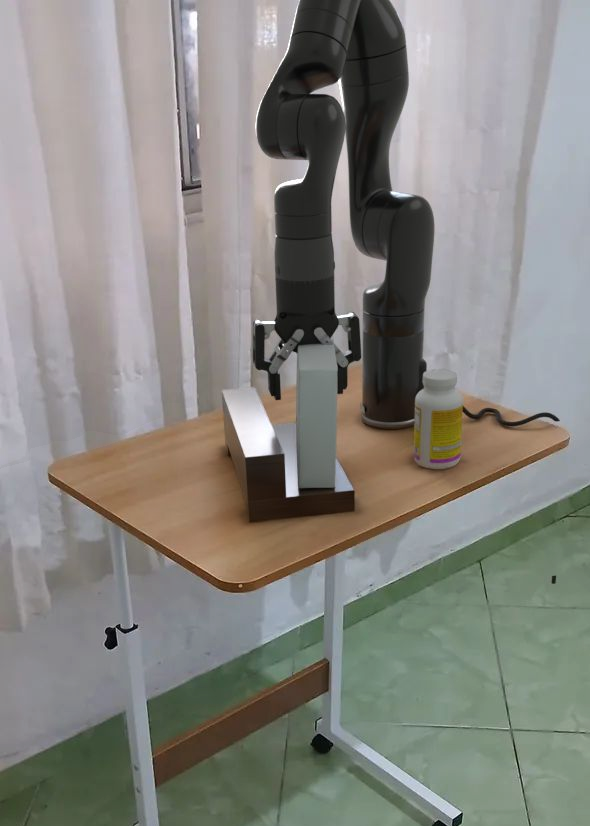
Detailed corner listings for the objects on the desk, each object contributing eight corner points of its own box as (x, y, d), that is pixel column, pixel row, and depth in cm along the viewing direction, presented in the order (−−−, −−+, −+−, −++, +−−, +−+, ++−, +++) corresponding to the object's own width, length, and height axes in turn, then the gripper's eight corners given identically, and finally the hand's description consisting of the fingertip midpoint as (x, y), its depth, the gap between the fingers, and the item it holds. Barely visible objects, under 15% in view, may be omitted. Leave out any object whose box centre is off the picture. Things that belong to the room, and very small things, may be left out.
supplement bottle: (469, 460, 147) (474, 372, 140) (441, 475, 143) (445, 385, 136) (431, 449, 151) (435, 363, 144) (403, 463, 147) (406, 375, 140)
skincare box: (339, 489, 133) (338, 369, 125) (297, 490, 133) (293, 370, 125) (333, 429, 151) (331, 320, 142) (296, 430, 151) (292, 322, 142)
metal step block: (316, 438, 156) (315, 381, 151) (354, 511, 135) (354, 446, 130) (225, 447, 154) (221, 389, 149) (249, 522, 133) (245, 457, 128)
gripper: (353, 260, 134) (353, 382, 143) (245, 268, 132) (252, 391, 141) (366, 274, 128) (365, 399, 136) (253, 282, 126) (260, 409, 135)
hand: (308, 395), depth 139 cm, fingers open, 8 cm apart
